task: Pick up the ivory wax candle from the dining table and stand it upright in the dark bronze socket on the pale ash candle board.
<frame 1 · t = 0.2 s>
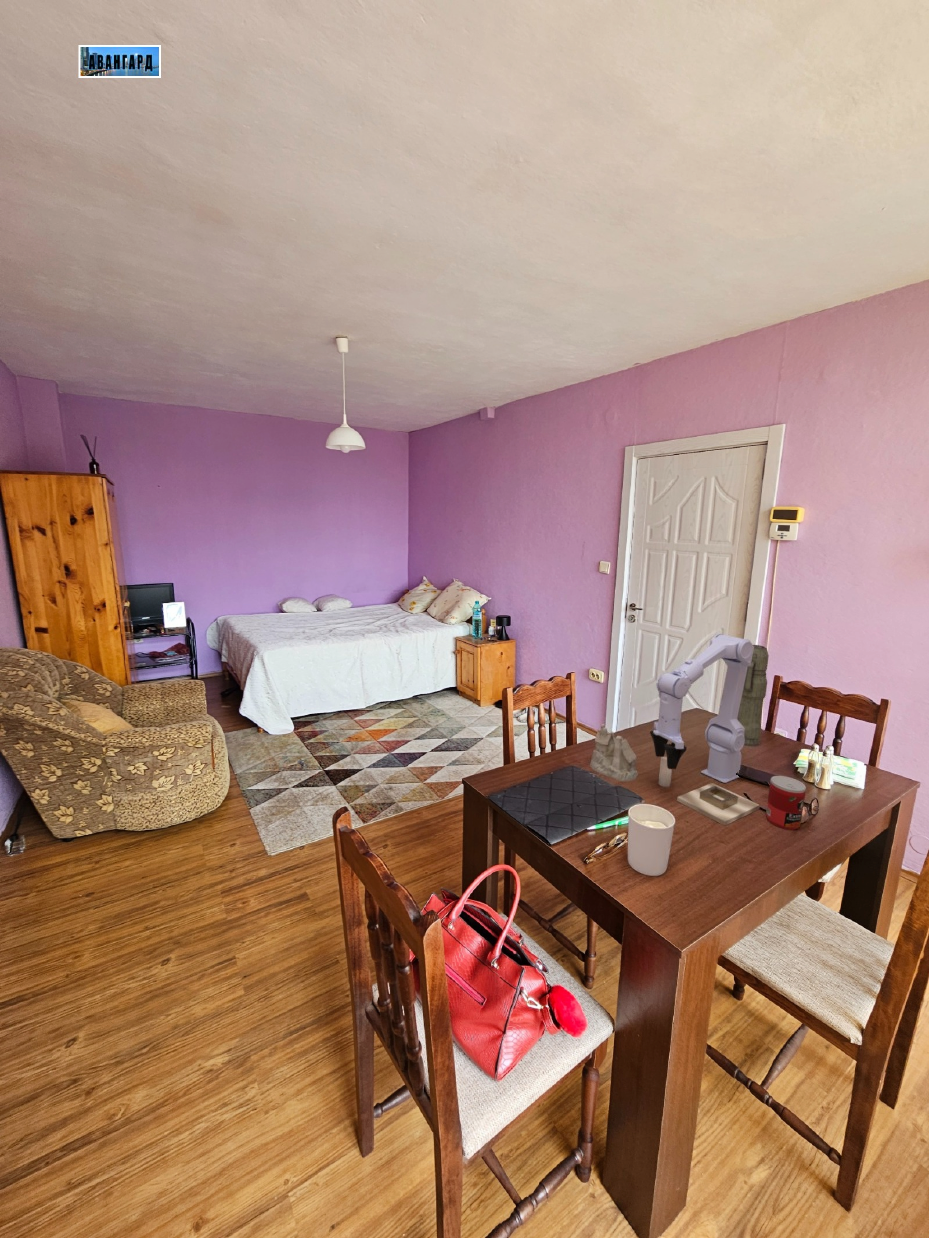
hand: (665, 762, 146), 10 cm above the table, tool pointing down, fingers open, 7 cm apart
canned food: (782, 822, 135), on the table
candle stand: (717, 804, 142), on the table
candle holder: (646, 864, 117), on the table
ceramic cottage: (616, 768, 164), on the table
green stone statue: (745, 741, 186), on the table
ivory candle: (664, 784, 153), on the table
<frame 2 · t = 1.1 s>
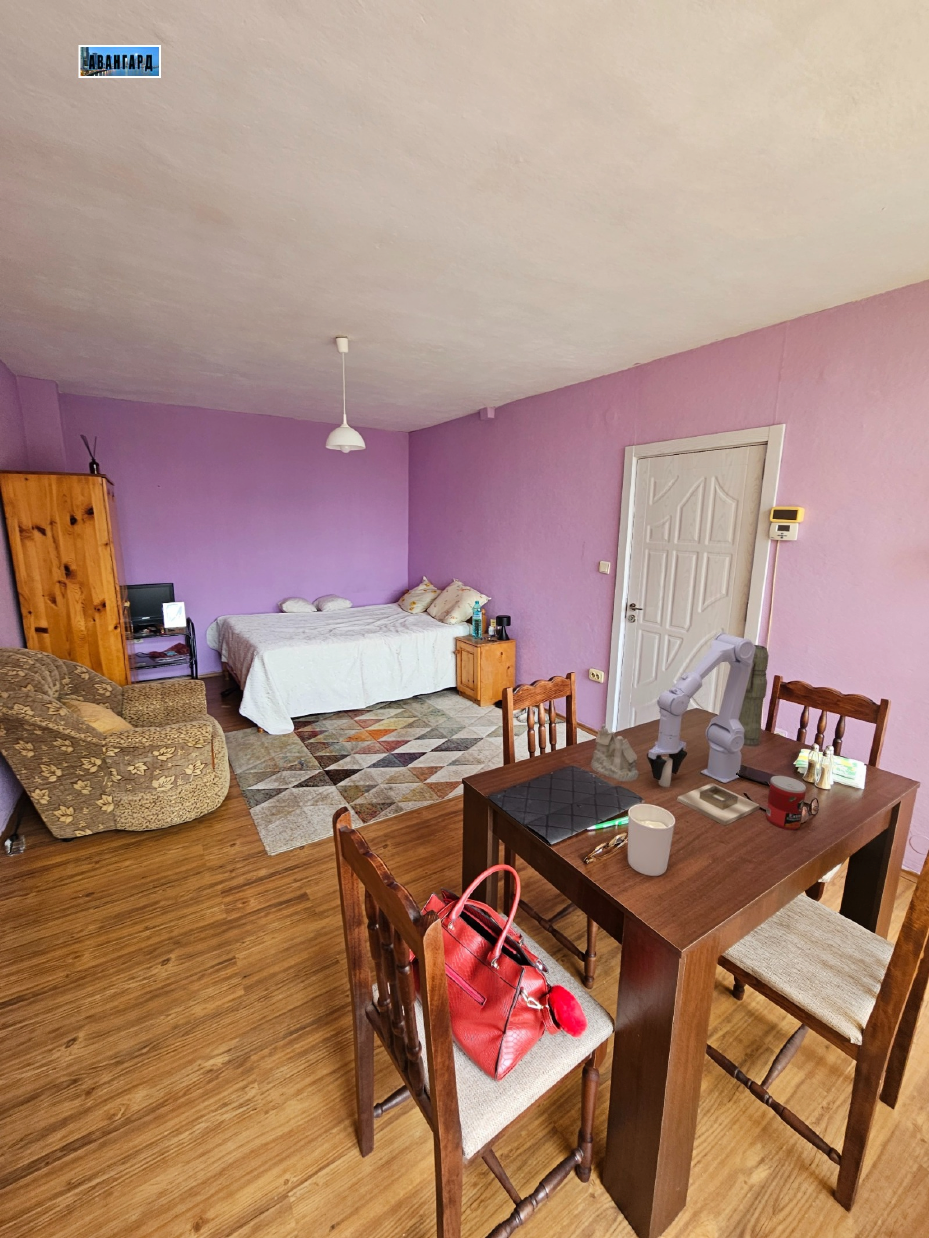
hand: (664, 775, 153), 3 cm above the table, tool pointing down, fingers open, 7 cm apart
nothing on the table moved.
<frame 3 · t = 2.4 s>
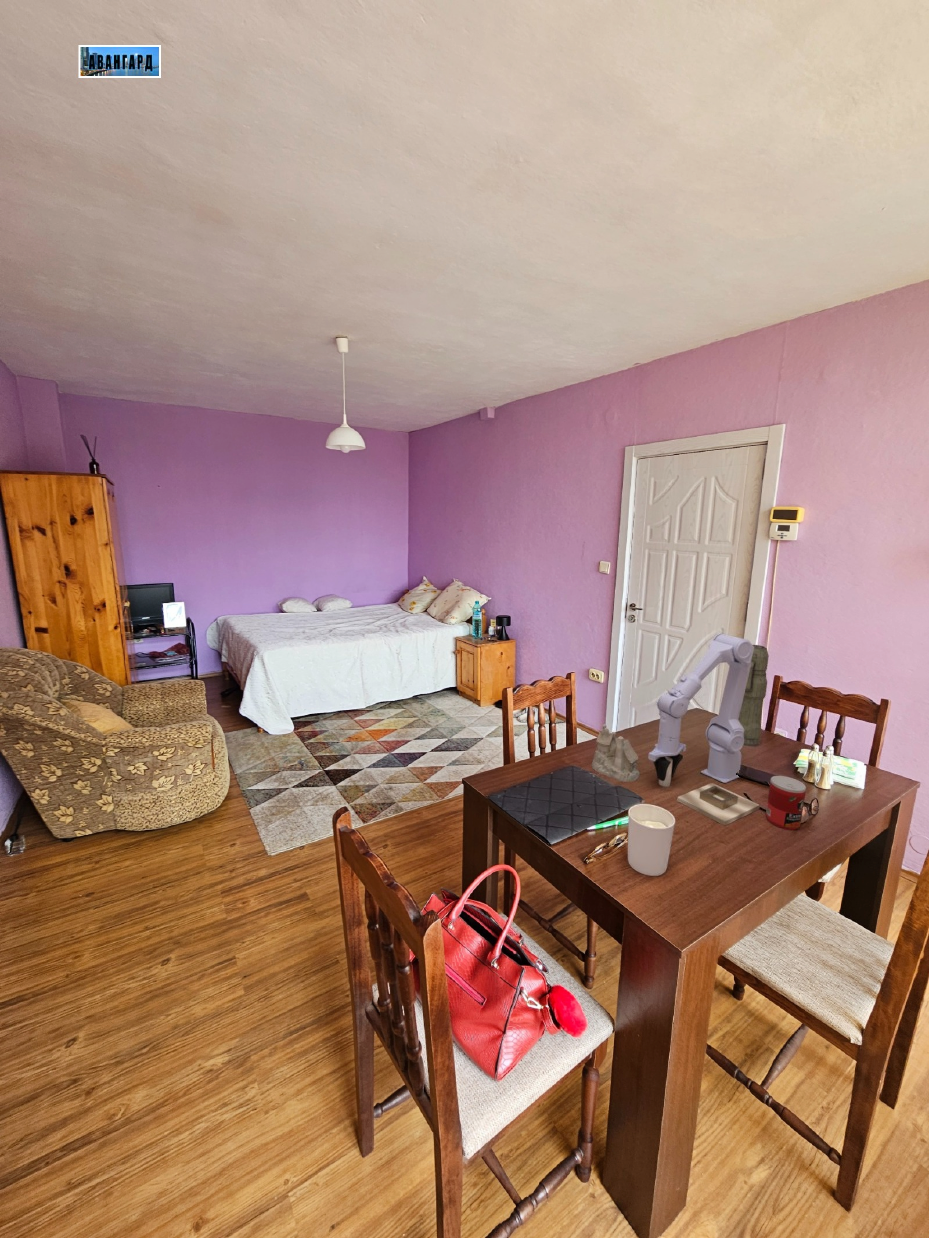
hand: (664, 777, 153), 2 cm above the table, tool pointing down, fingers closed on ivory candle, 3 cm apart
ivory candle: (664, 784, 153), on the table, touching gripper
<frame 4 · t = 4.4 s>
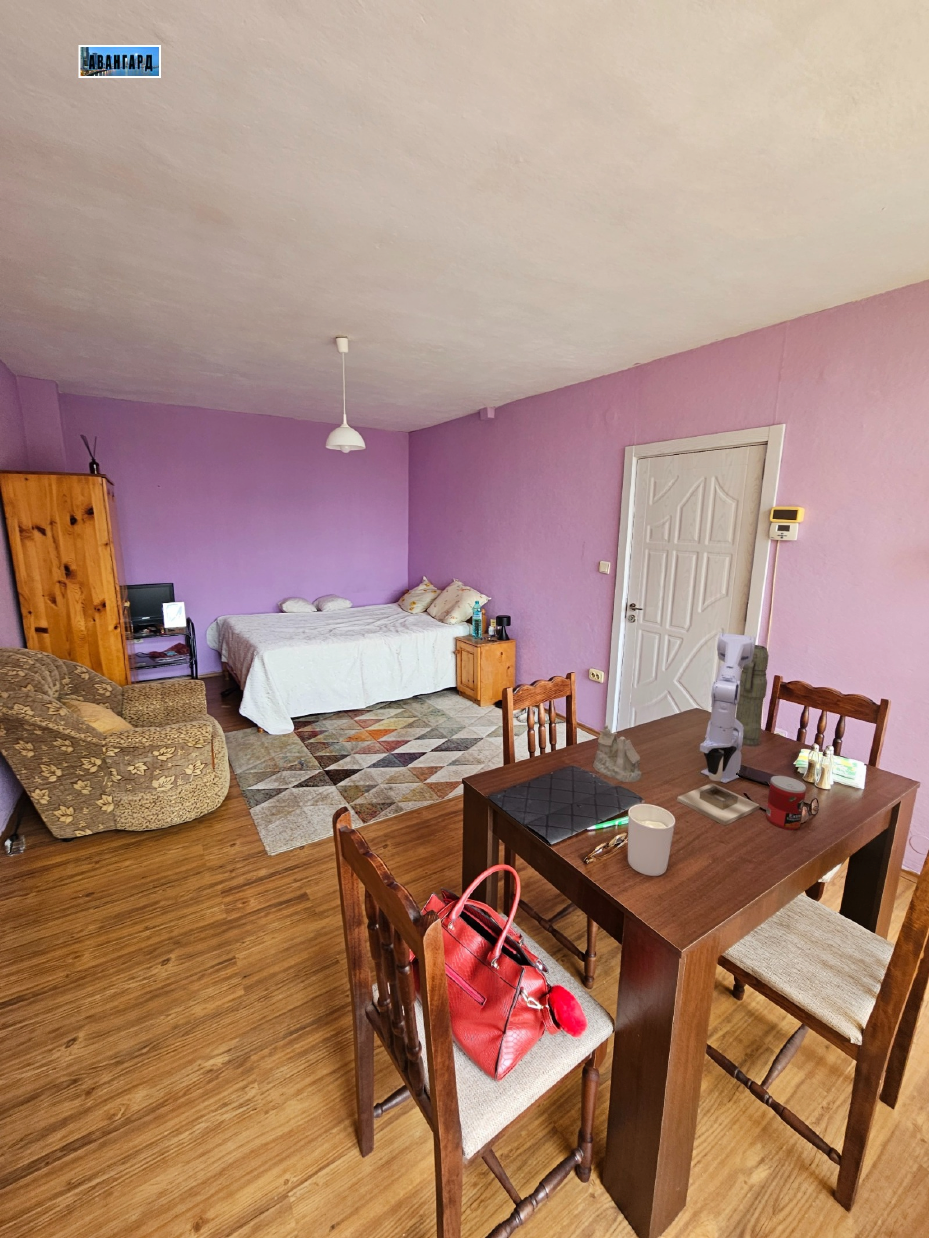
hand: (716, 771, 142), 9 cm above the table, tool pointing down, fingers closed on ivory candle, 3 cm apart
ivory candle: (715, 778, 142), point 7 cm above the table, touching gripper
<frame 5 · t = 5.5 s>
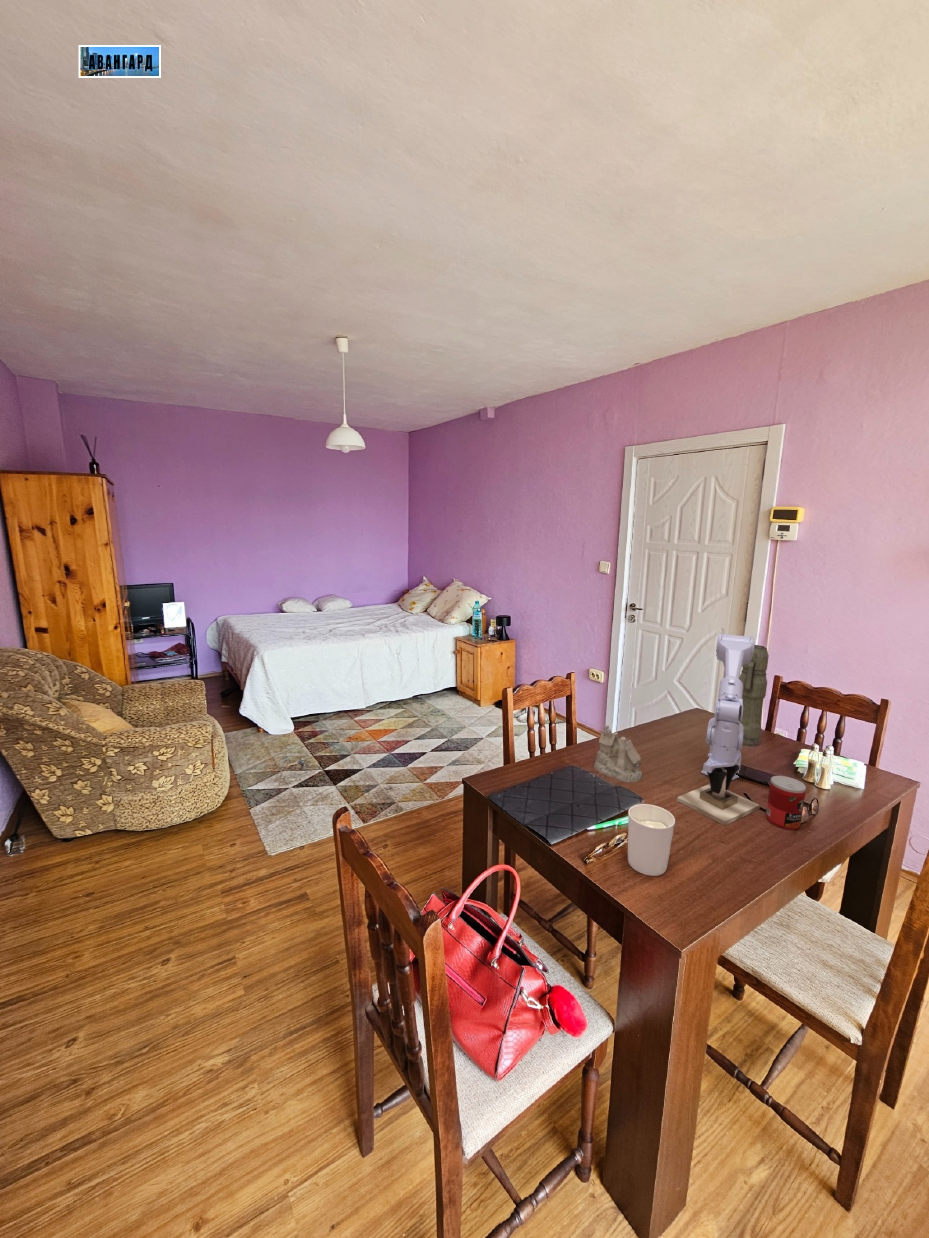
hand: (719, 790, 142), 4 cm above the table, tool pointing down, fingers closed on ivory candle, 3 cm apart
ivory candle: (718, 797, 142), point 2 cm above the table, touching gripper
when the fingers open (4 cm above the table, at t = 6.3 s): ivory candle stays where it is, resting on candle stand.
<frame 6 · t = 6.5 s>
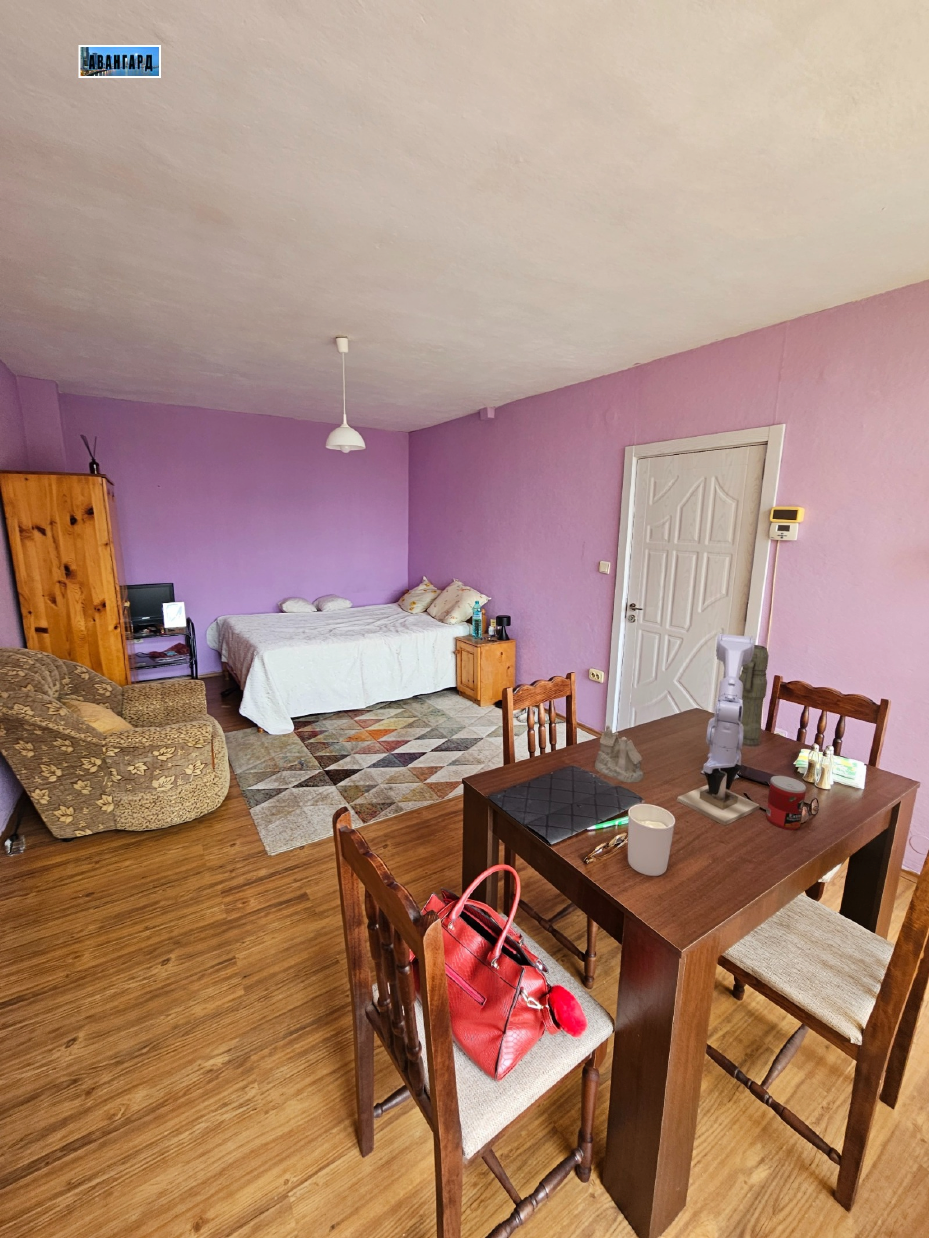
hand: (719, 790, 142), 4 cm above the table, tool pointing down, fingers open, 5 cm apart
ivory candle: (717, 800, 142), point 1 cm above the table, touching candle stand
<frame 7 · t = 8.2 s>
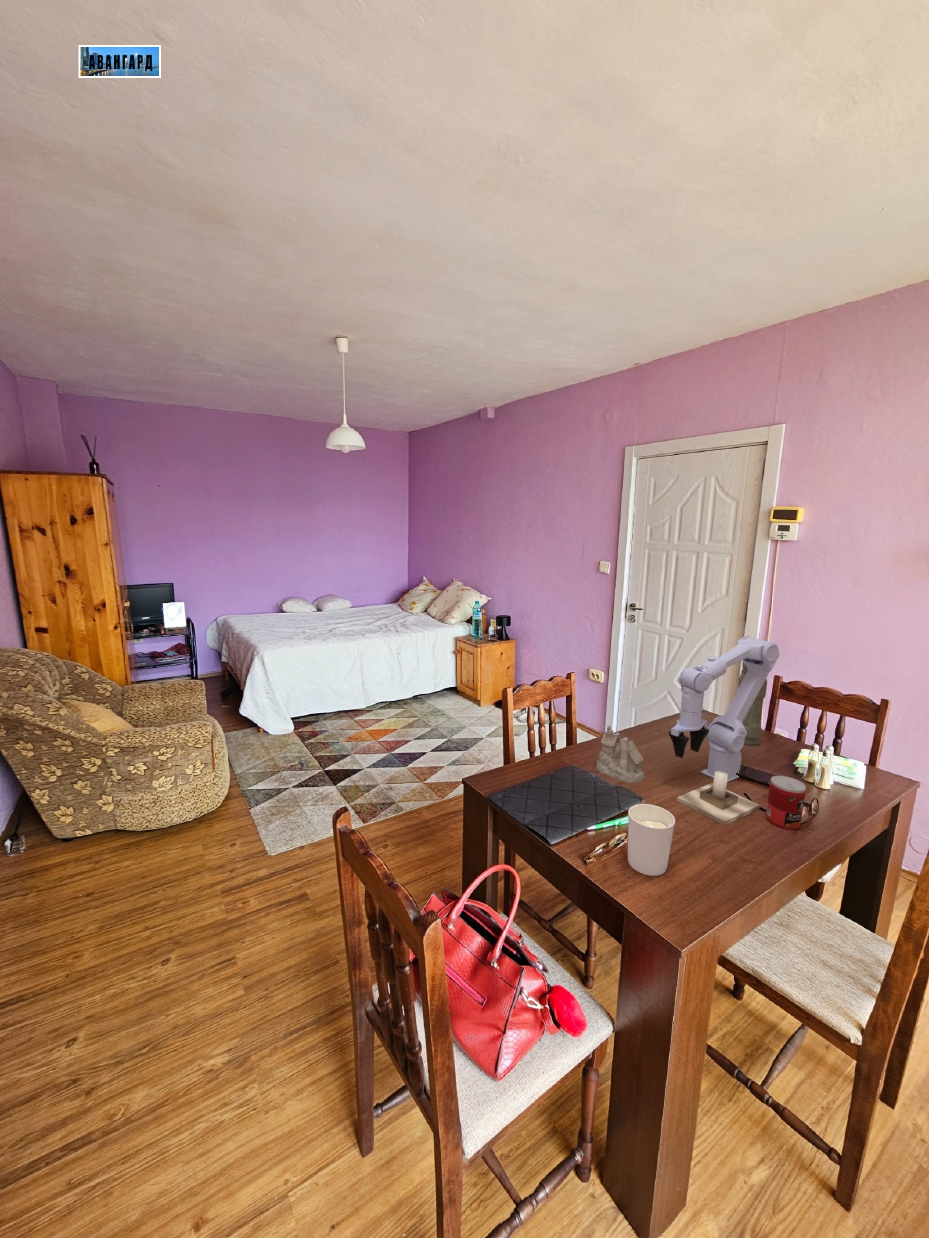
hand: (686, 753, 152), 9 cm above the table, tool pointing down, fingers open, 7 cm apart
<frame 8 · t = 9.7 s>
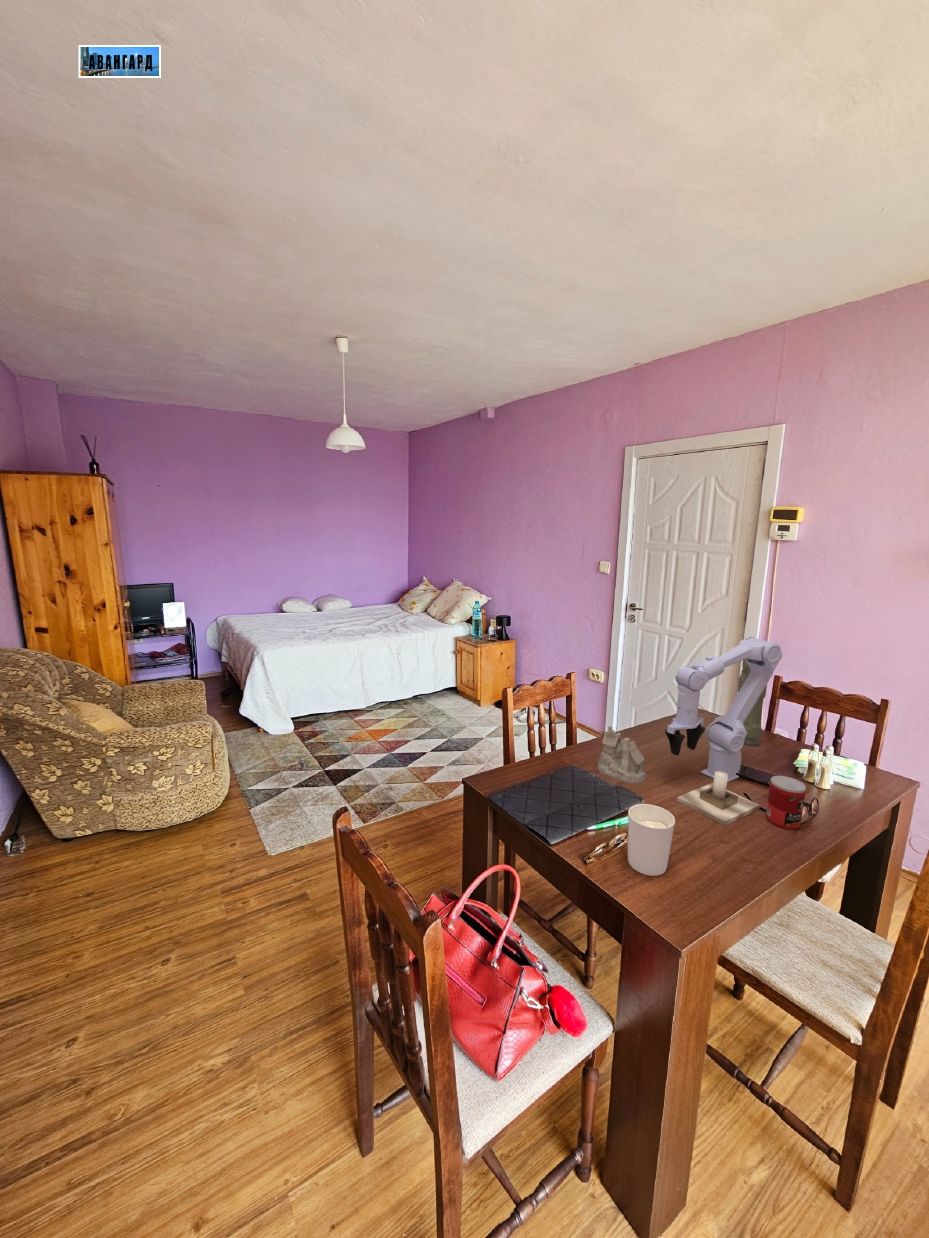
hand: (683, 751, 154), 9 cm above the table, tool pointing down, fingers open, 7 cm apart
at the end: ivory candle 0.1 cm off-centre on the candle stand, point 1.2 cm above the candle stand's base; ivory candle tilted 0°; the gripper is holding nothing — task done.
